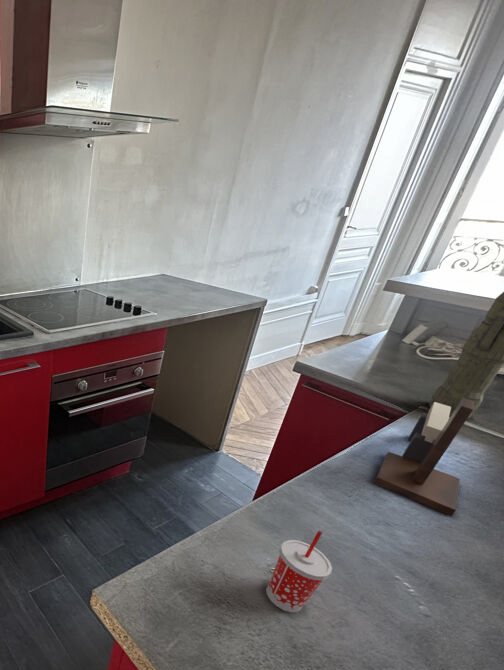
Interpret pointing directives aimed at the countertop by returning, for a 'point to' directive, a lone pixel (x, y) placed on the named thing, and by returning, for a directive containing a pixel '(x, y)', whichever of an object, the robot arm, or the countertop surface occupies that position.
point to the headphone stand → (427, 469)
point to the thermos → (476, 362)
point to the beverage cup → (297, 574)
